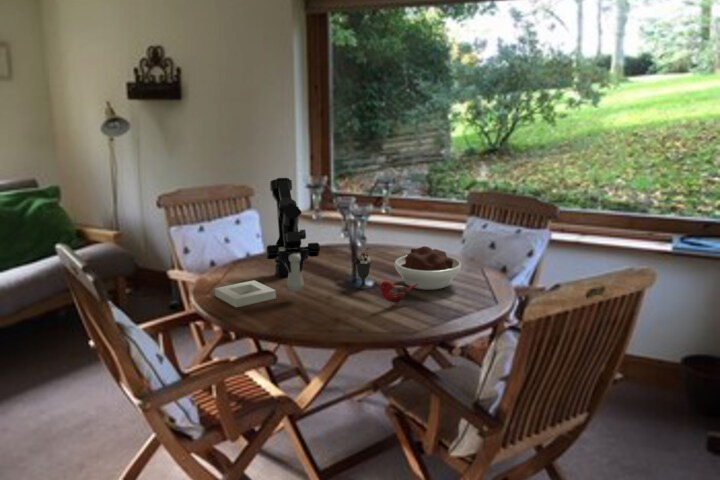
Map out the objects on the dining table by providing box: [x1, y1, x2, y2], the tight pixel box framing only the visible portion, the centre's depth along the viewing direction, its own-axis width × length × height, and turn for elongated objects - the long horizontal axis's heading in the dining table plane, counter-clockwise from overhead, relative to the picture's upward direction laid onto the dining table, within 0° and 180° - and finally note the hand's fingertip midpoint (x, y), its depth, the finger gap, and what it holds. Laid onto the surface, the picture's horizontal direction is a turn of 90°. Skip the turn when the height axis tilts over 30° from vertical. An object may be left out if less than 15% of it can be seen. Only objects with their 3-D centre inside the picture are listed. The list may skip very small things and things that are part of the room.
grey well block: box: [214, 279, 277, 308], centre depth 235 cm, size 16×16×3 cm
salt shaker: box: [286, 253, 305, 292], centre depth 228 cm, size 6×6×13 cm
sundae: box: [354, 248, 373, 290], centre depth 244 cm, size 7×7×15 cm
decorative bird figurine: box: [379, 280, 418, 308], centre depth 225 cm, size 3×18×10 cm, turn 127°
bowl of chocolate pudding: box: [394, 245, 462, 291], centre depth 246 cm, size 25×25×15 cm
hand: (295, 271), depth 227 cm, fingers closed on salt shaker, 3 cm apart
